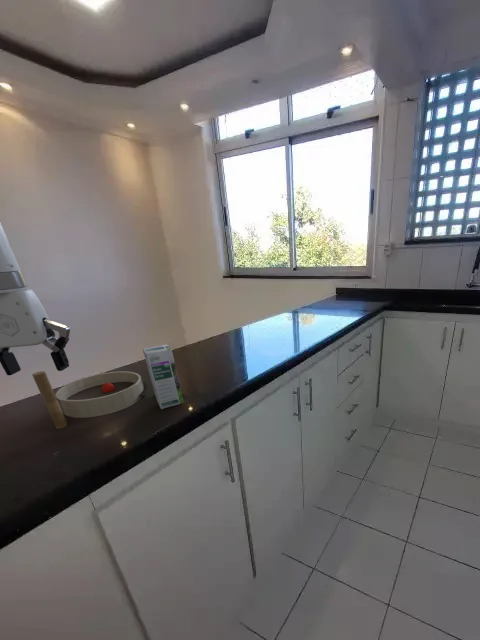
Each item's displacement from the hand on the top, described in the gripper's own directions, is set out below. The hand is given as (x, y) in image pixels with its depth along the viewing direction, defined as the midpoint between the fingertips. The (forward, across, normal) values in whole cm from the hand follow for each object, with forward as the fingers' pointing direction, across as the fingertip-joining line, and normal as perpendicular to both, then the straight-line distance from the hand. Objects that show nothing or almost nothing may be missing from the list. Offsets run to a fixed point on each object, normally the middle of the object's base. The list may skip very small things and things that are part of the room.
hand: (39, 370), depth 64 cm
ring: (+14, +3, +13) cm, 19 cm away
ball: (+11, +3, +16) cm, 20 cm away
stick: (+14, -1, 0) cm, 14 cm away
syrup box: (+14, +21, +8) cm, 27 cm away
